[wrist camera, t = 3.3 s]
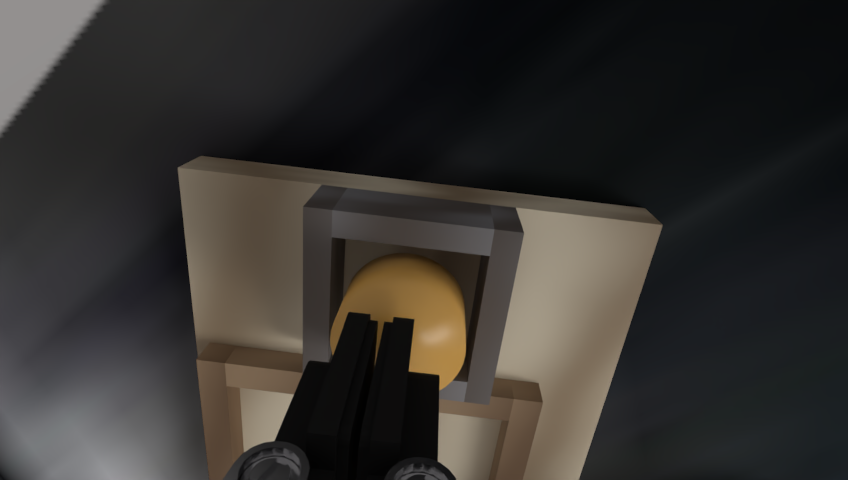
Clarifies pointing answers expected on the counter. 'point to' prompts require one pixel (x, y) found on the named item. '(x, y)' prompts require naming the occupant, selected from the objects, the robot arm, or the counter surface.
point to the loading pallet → (445, 244)
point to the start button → (412, 309)
